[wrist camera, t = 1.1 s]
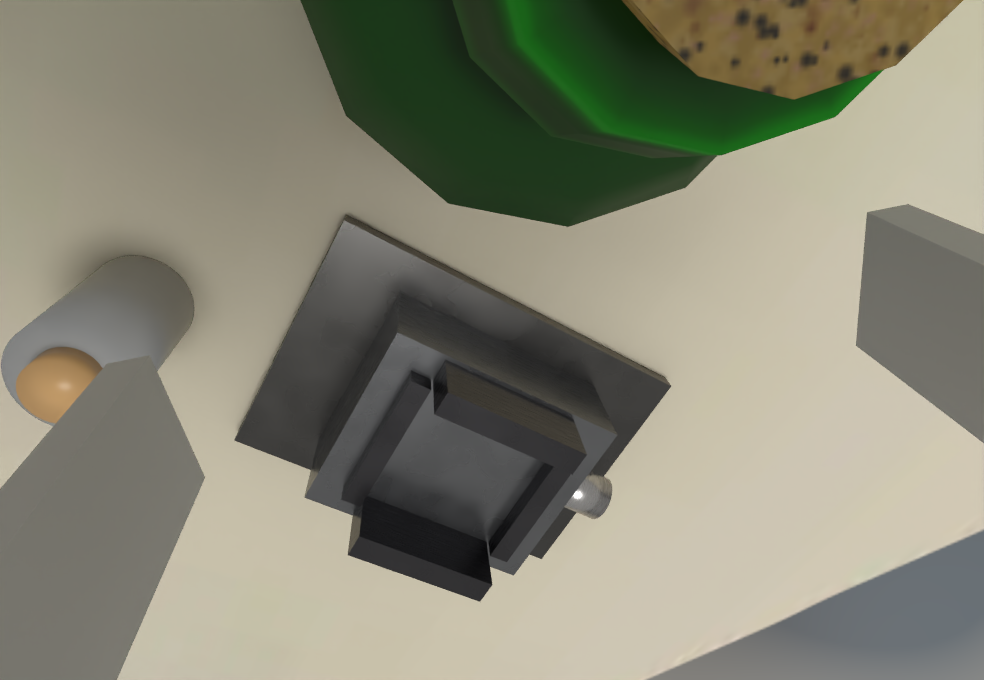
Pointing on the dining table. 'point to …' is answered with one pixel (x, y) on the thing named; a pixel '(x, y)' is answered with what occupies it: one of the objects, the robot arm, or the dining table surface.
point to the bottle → (597, 87)
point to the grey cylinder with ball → (96, 333)
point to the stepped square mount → (443, 414)
